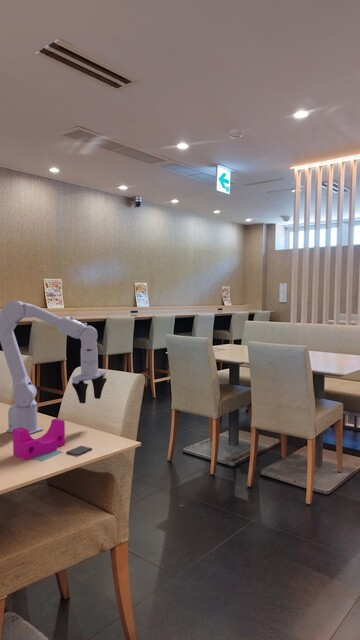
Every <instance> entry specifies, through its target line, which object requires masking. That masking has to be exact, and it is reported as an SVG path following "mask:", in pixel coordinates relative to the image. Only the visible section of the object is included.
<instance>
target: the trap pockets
mask: <svg viewBox="0 0 360 640" xmlns="http://www.w3.org/2000/svg"><path fill="white" fill-rule="evenodd" d="M92 450H93V448H92V447H87V446H84V445H80V446H77V447H75V448H72V449H70V450H67V451H66V455H67V454H68V455H73V456H75V457H79V456H81V455H83V454H86V453H88V452H91V451H92Z"/></svg>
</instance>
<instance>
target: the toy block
mask: <svg viewBox="0 0 360 640" xmlns="http://www.w3.org/2000/svg"><path fill="white" fill-rule="evenodd" d="M65 428H66V424H65V420H64V419H60V418H53V419H51V422H50V426H49V428H48V430H47V431H46V432H45V433H44V434H43V435H41V436H40V437H38V438H32V436H31V434H29V431H28V429H25V428H22V427H20V428H16V429H13V433H12V446H13V449H12V450H13V451H12V454H13V456H15V457H17V458H20V459H22V460H24V461H26V460H30V459H31V458H33V457H36V456H40V455H43V454H46V453H49V452H53V451H56V450H58V447H61V446H64V445H66V438H65V437H66V432H65V430H66V429H65Z"/></svg>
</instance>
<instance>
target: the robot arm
mask: <svg viewBox="0 0 360 640" xmlns="http://www.w3.org/2000/svg"><path fill="white" fill-rule="evenodd" d="M23 318H24V319H27V318H28V319H30V318H31V319H32V318H36V319H38V320H41V321H44V322H46V323H49V324H51V325H53V326H56V327H57V329H58V331H59V332H60V333H62V334H65V335H67V336H69V337H71V338H73V339H76V340H78V339H79V340H80V342H81V343H80V344H81V346H80V347H81V348H80V374H78V375H76V376H72V382H71V385H72V387H73V389H74V390H75V393H76V395H77V399H78V402H79V404H85V403H86V401H87V389H88V386H89V383H86V382H87V381H91V383H92V388H93V396H94V399H96V400H100V399H101V397H102V393H103V388H104V386H105V384H106V382H107V379H108V378H107V377H106V376H107V375H106V373H107V372H106V371H105V370H100V371H99V359H98V358H99V356H98V355H99V351H98V348H99V347H98V342H97V340H98V337H99V336H98V331H97V329H96V328H95V327H93V326H92V325H88V323H87V322H81V321H79V320H76V319H75V317H74V316H71V315H70V316H67V315H66V316H64V317H60V316H58V315H56V314H54V313H53V312H50V311H48V310H46V309H43V308H41V307H40V306H37V305H35V304H31V303H27V302H24V301H22V300H10V301H8V302H7V303H5V305H4V306H3V307H2V309H1V310H0V345H1V348H2V351H3V354H4V357H5V361H6V363H7V366H8V370H9V373H10V376H11V379H12V388H13V402H14V404H12V405H10V407H9V409H8V411H7V419H8V421H7V423H8V428H7V429H6V430H5V431H6V432H8V433H12V434H13V429H16V428H20V427H22V428H25V429H28V431H29V434H30V435H31V434H35V433H36V432H40V431H44V427H39V426H38V402H37V401H36V400H35V398H36V396H37V394H38V390H37V387H36V386H35V385H34V384H33V383H32V382H33V381H31V378H30V376H29V375H28V372H27V369H26V366H25V363H24V361H23V355H22V353H21V351H20V347H19V345H18V341H17V338H16V335H15V331H14V330H15V329H16V327H17V325H18V323H19V322H20V321H22V320H23Z"/></svg>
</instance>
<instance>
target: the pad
mask: <svg viewBox="0 0 360 640" xmlns="http://www.w3.org/2000/svg"><path fill="white" fill-rule="evenodd" d="M63 453H64V451H61V450H58V449H57V450H56V451H53V452H49V453H46V454H43V455H40V456H36V457H33V458H30V459H31V460H35V461H39V462H43V461H45V460H48V459H51V458H53V457H55V456H58V455H61V454H63Z"/></svg>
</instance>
